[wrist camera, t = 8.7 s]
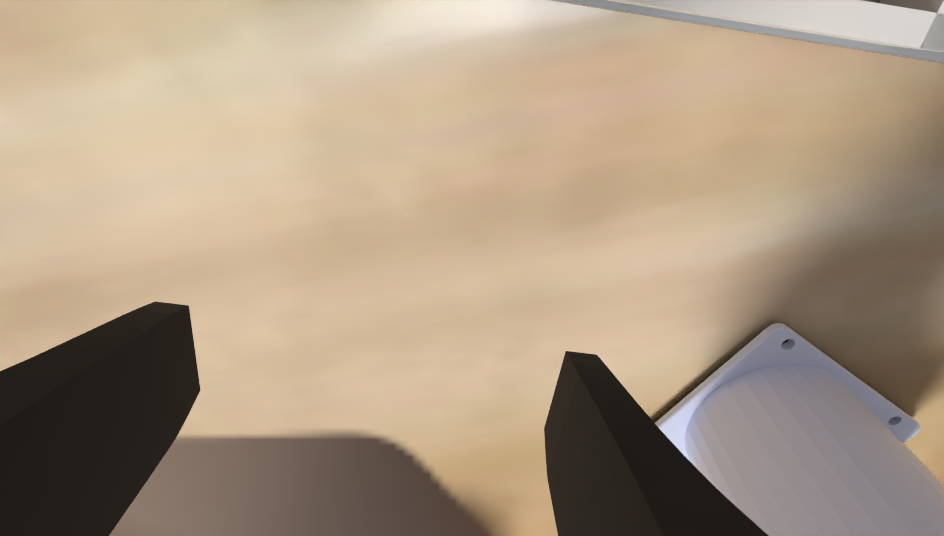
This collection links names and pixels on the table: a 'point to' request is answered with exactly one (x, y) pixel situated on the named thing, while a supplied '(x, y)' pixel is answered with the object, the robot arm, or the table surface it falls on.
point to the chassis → (812, 21)
